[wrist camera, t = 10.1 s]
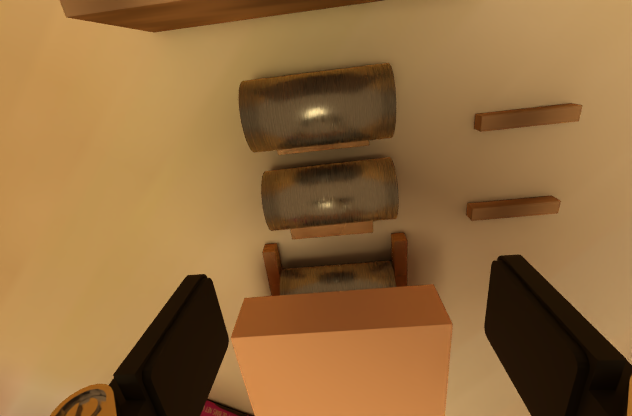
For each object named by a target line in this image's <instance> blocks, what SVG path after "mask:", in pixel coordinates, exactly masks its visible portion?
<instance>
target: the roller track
mask: <svg viewBox="0 0 632 416" xmlns="http://www.w3.org/2000/svg"><path fill="white" fill-rule="evenodd" d="M239 110H240V117H241V123H242V127H243V131H244V135H245V138H246V141H247V143H248V145H249V147H250V149H251V150H252V151H253V152H264V151H273V150H277V152H278V155H282V154H291V153H301V152H310V151H320V150H329V149H338V148H348V147H357V146H367V145H369V140H376V139H385V138H392V137H393V134H394V130H395V123H396V92H395V82H394V76H393V71H392V68H391V65H390V64H389V63H383V64H375V65H367V66H359V67H351V68H343V69H335V70H327V71H319V72H311V73H303V74H295V75H287V76H279V77H271V78H263V79H255V80H247V81H242V82H241V84H240V87H239ZM372 232H373V221H367V222H357V223H346V224H336V225H326V226H316V227H305V228H295V229H291V235H292V239H302V238H314V237H326V236H337V235H349V234H361V233H372ZM391 247H392V264H391V262H390V261H378V262H365V263H353V264H340V265H327V266H315V267H302V268H289V269H283V270H282V268H281V262H280V257H279V252H278V247H277V243H276V244H265V246H264V249H263V252H262V253H263V257H264V262H265V267H266V271H267V276H268V280H269V285H270V290H271V294H272V296H280V295H294V294H307V293H321V292H335V291H349V290H363V289H376V288H390V287H404V286H407V239H406V237H405V235H404V233H394V234H391Z"/></svg>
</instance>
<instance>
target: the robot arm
mask: <svg viewBox="0 0 632 416" xmlns="http://www.w3.org/2000/svg"><path fill="white" fill-rule="evenodd" d="M484 328H485V333H486V336H487V338H488V340H489V342H490V344H491V346H492V347H493V349H494V351H495V353H496V354H497V356H498V358H499V360H500V361H501V363H502V365H503V367H504V368H505V370H506V372H507V374H508V375H509V377H510V379H511V381H512V382H513V384H514V386H515V388H516V389H517V391H518V393H519V395H520V396H521V398H522V400H523V402H524V404H525V405H526V407H527V409H528V411H529V412H530V414H531V416H632V365H631V364H630V363H629V362H628V361H627V359H626V358H625V357H624V356H623V355H622V354H621V353H620V352H619V351H618V350H617V349H616V348H615V347H614V346H613V345H612V344H611V343H610V342H609V341H608V340H606V339H605V338H604V337H603V336H602V335H601V334H600V333H599V332H598V331H597V330H596V329H595V328H594V327H593V326H592V325H591V324H590V323H589V322H588V321H587V320H586V319H585V318H584V317H583V316H582V315H581V314H580V313H579V312H578V311H577V310H576V309H575V308H574V307H573V306H572V305H571V304H570V303H569V302H568V301H567V300H566V299H565V298H564V297H563V296H562V295H561V294H560V293H559V292H558V291H557V290H556V289H555V288H554V287H553V286H552V285H551V284H550V283H549V282H548V281H547V280H546V279H545V278H544V277H543V276H542V275H541V274H540V273H539V272H537V271H536V270H535V269H534V268H533V267H532V266H531V265H530V264H529V263H528V262H527V261H526V260H525V259H524V258H523V257H522V256H521V255H504V256H499V257H498V258H497V261H493V262H492V265H491V274H490V282H489V291H488V299H487V308H486V316H485V325H484ZM228 342H229V338H228V334H227V330H226V327H225V323H224V320H223V316H222V313H221V309H220V306H219V302H218V299H217V295H216V292H215V288H214V285H213V282H212V280H211V278H207V276H206V275H205V274H199V275H188V276H187V277H186V278H185V279H184V280H183V282H182V283H181V284H180V286H179V287H178V288H177V290H176V291H175V292H174V294H173V295H172V296H171V298H170V299H169V300H168V302H167V303H166V304H165V306H164V307H163V308H162V310H161V311H160V313H159V314H158V315H157V317H156V318H155V319H154V321H153V322H152V323H151V325H150V326H149V327H148V329H147V330H146V331H145V333H144V334H143V335H142V337H141V338H140V339H139V341H138V342H137V343H136V345H135V346H134V348H133V349H132V350H131V352H130V353H129V354H128V356H127V357H126V358H125V360H124V361H123V362H122V364H121V365H120V366H119V368H118V369H117V370H116V372H115V373H114V374H113V376H114V379H113V380H112V381H111V383H110V384H109V385H107V384H95V385H90V386H88V387H85V388H83V389H80V390H79V391H77V392H75V393H74V394H72V395H70V396H69V397H68V398H66V399H65V400H64V401H63V402H62V403H60V404H59V405H58V407H57V408H56V409H55V410H54V411H53V412H52V413H51V415H50V416H200V415H201V413H202V410H203V408H204V405H205V403H206V400H207V398H208V395H209V393H210V390H211V388H212V385H213V383H214V380H215V378H216V375H217V373H218V370H219V368H220V365H221V363H222V360H223V358H224V355H225V353H226V350H227V347H228Z"/></svg>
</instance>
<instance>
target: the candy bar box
mask: <svg viewBox="0 0 632 416" xmlns="http://www.w3.org/2000/svg"><path fill="white" fill-rule="evenodd" d="M200 416H249V415H246V414H243V413H240V412H238V411H235V410H232V409H229V408H227V407H224V406H221V405H219V404H216V403H213V402H210V401H208V400H206V403H205V405H204V408H203V410H202V413H201V415H200Z"/></svg>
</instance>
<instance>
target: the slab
mask: <svg viewBox="0 0 632 416" xmlns="http://www.w3.org/2000/svg"><path fill="white" fill-rule="evenodd" d="M451 336H452V322H451V320H450V318H449V316H448V314H447V312H446V309H445V307H444V305H443V303H442V301H441V299H440V297H439V295H438V293H437V291H436V289H435V287H434V285H433V284H431V285H418V286H404V287H390V288H376V289H363V290H349V291H335V292H321V293H307V294H294V295H280V296H266V297H252V298H244V301H243V304H242V307H241V310H240V313H239V316H238V319H237V321H236V324H235V327H234V330H233V333H232V336H231V340H232V344H233V347H234V350H235V353H236V357H237V360H238V363H239V366H240V370H241V373H242V376H243V379H244V383H245V386H246V389H247V392H248V396H249V399H250V402H251V405H252V409H253V412H254V415H255V416H445V406H446V394H447V383H448V371H449V359H450V348H451Z"/></svg>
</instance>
